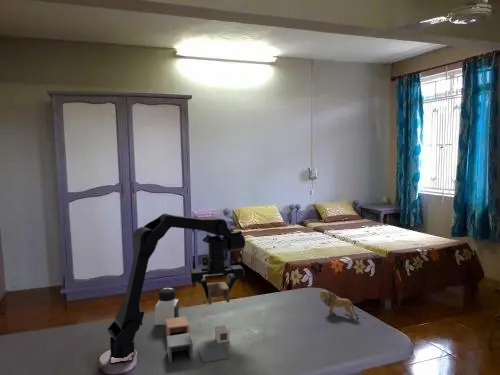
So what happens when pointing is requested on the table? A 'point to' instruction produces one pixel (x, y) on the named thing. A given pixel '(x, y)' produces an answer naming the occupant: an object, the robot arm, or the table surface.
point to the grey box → (179, 345)
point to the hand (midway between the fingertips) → (217, 296)
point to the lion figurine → (336, 302)
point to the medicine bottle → (166, 306)
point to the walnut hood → (217, 291)
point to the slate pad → (213, 354)
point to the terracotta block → (177, 325)
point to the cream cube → (222, 334)
